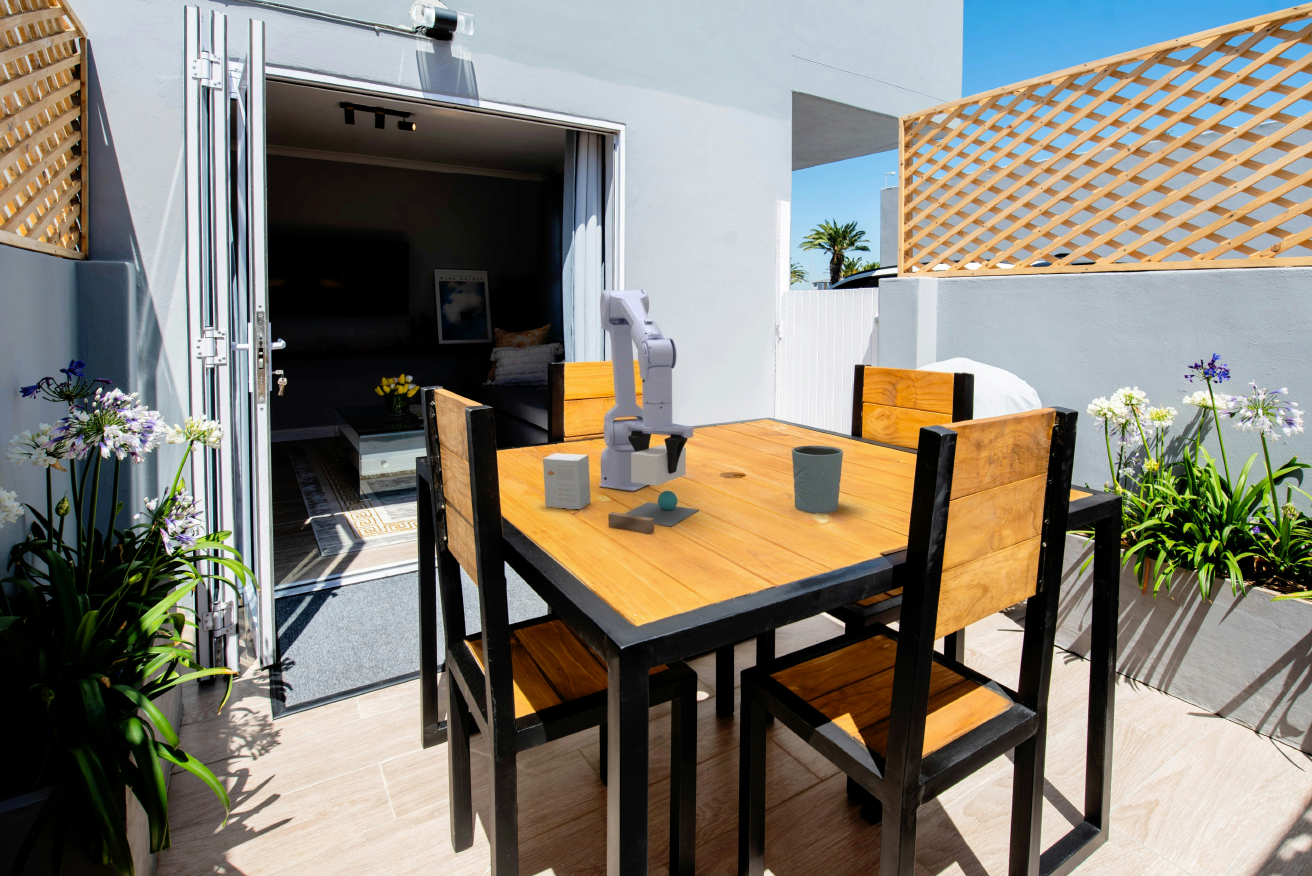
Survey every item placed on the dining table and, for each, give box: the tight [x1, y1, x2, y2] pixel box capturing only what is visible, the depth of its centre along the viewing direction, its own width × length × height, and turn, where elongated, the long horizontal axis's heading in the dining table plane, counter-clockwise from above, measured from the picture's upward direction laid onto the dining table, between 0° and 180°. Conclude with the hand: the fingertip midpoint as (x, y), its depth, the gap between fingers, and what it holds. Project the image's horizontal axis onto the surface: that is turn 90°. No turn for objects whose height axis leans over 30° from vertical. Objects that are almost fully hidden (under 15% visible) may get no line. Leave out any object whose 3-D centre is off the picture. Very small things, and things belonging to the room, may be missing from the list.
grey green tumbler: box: [791, 445, 844, 514], centre depth 144 cm, size 10×10×12 cm
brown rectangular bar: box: [607, 511, 655, 535], centre depth 132 cm, size 9×2×2 cm, turn 61°
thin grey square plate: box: [624, 501, 700, 528], centre depth 141 cm, size 12×12×1 cm
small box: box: [542, 452, 592, 511], centre depth 147 cm, size 8×6×10 cm
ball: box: [657, 490, 678, 510], centre depth 143 cm, size 4×4×4 cm
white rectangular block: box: [631, 444, 687, 487], centre depth 140 cm, size 6×12×6 cm, turn 151°
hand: (658, 470), depth 139 cm, fingers closed on white rectangular block, 6 cm apart
